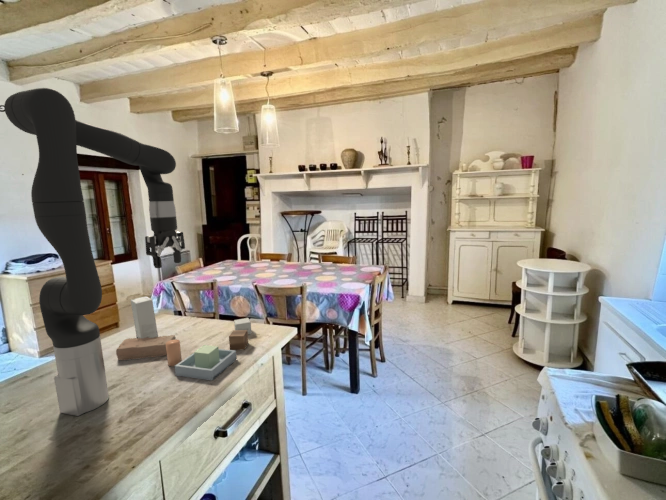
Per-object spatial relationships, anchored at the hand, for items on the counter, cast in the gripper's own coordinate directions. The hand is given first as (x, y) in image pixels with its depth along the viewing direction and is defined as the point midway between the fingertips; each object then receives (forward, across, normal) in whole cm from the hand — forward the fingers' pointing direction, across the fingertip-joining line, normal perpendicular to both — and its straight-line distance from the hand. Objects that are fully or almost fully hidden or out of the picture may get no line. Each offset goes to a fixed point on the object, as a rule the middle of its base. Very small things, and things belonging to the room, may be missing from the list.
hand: (168, 265), depth 107 cm
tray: (+30, -7, -17) cm, 35 cm away
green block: (+29, -7, -17) cm, 35 cm away
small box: (+30, +19, -14) cm, 38 cm away
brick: (+31, -3, +10) cm, 32 cm away
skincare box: (+30, +8, +21) cm, 38 cm away
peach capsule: (+30, -7, -5) cm, 31 cm away
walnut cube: (+30, +8, -19) cm, 37 cm away
